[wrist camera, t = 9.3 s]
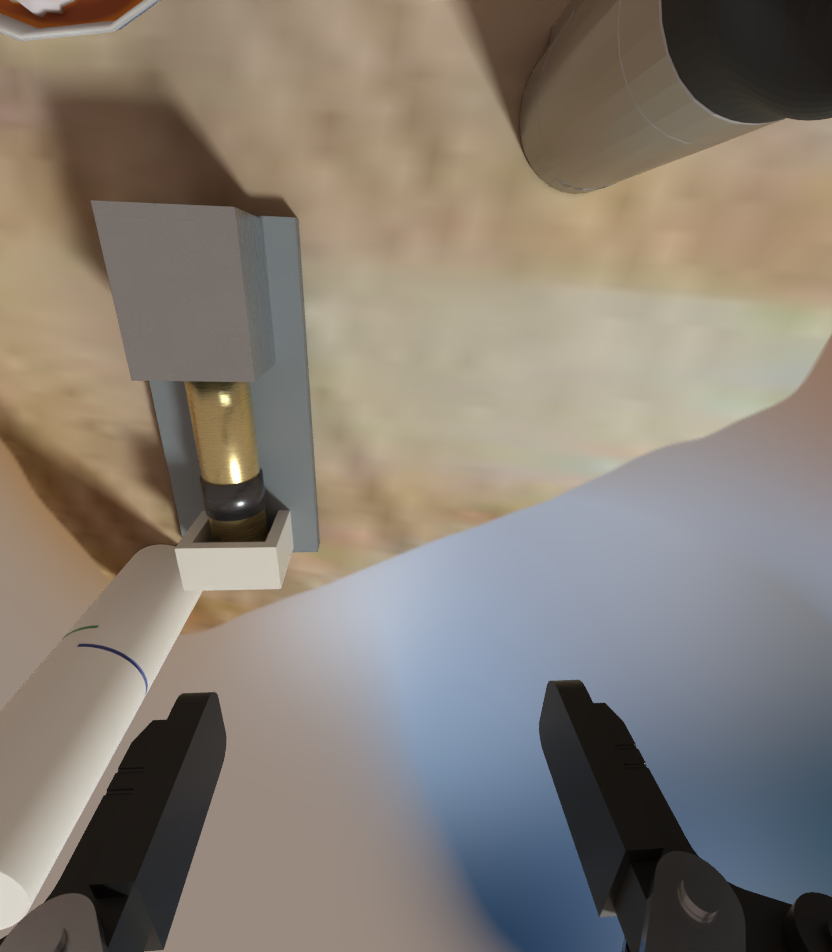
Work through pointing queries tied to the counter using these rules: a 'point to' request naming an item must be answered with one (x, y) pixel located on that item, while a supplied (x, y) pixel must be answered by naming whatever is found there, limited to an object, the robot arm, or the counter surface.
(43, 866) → the cylindrical container
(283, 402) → the board
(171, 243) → the sleeve
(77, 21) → the ramen bowl
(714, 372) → the counter surface
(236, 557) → the socket
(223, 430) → the tube
